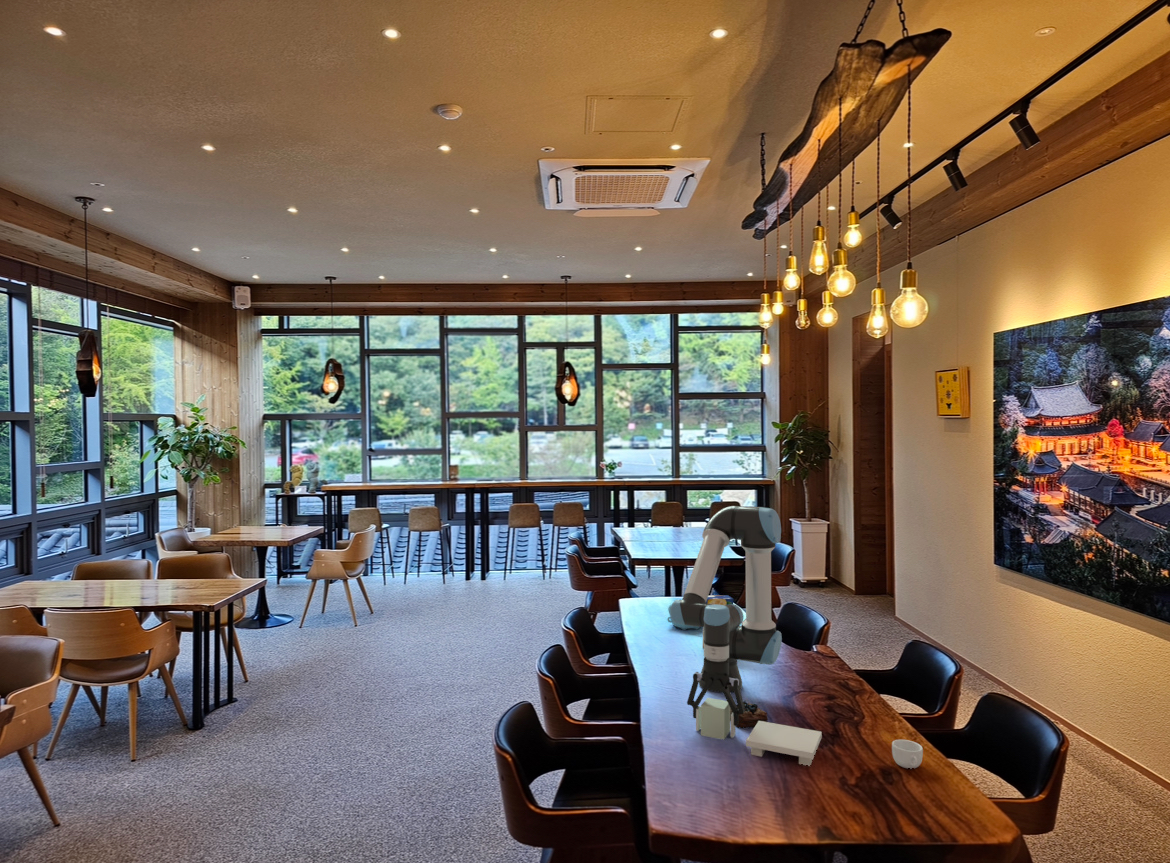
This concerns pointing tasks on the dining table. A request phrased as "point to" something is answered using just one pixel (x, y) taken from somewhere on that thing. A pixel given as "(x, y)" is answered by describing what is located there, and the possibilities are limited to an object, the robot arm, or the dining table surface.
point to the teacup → (907, 753)
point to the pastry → (750, 716)
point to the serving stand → (784, 741)
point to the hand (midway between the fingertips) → (715, 732)
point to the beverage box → (718, 603)
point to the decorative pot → (679, 624)
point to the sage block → (715, 718)
